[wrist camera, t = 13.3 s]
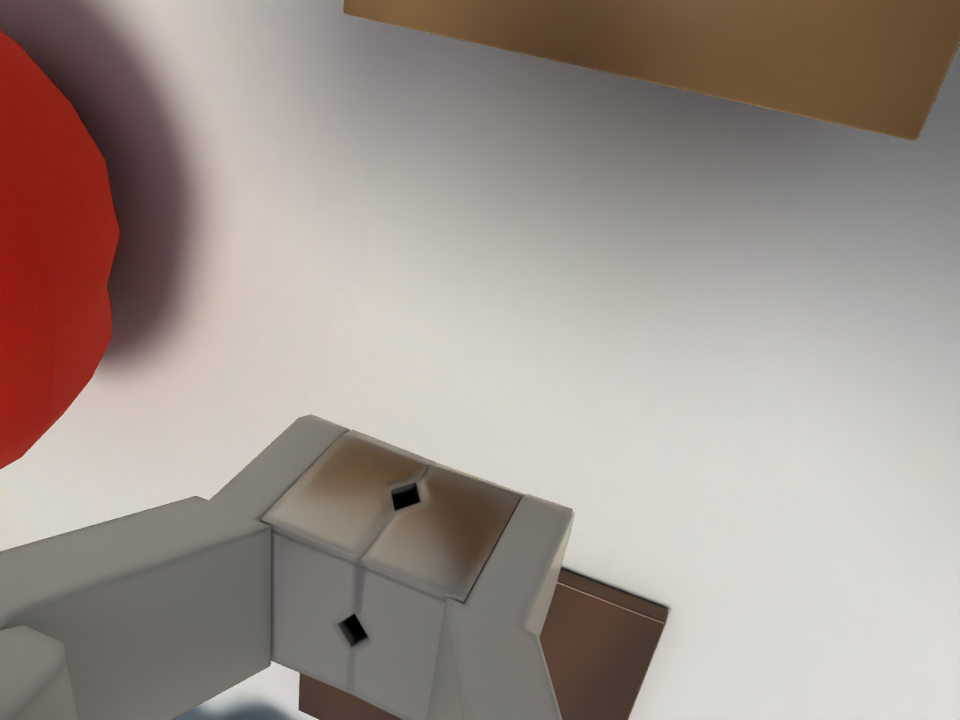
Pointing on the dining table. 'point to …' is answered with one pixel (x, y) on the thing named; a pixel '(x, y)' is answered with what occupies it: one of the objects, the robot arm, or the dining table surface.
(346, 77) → the dining table surface
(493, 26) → the prop block
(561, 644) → the coaster
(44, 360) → the tomato
